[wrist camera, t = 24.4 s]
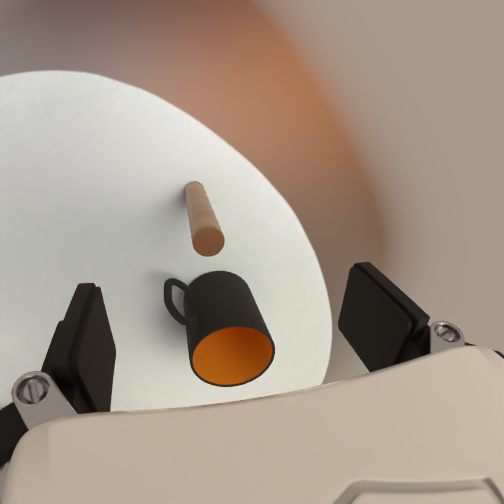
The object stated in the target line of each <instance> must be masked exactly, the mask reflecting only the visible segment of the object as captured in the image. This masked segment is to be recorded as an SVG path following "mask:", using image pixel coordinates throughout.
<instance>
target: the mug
mask: <svg viewBox="0 0 504 504" xmlns="http://www.w3.org/2000/svg"><path fill="white" fill-rule="evenodd" d="M173 285H174V286H177V287H179V288H180V289H182V290H183V291H184V292H185V296H184V314H185V317H184V316H183V315H181V314H180V313H179V312H178V310H177V309H176V307H175V306H174V304H173V301H172V286H173ZM164 302H165V305H166V307H167V309H168V311H169V313H170V314H171V315H172V317H173V318H174V319H175V320H177V321H178V322H179V323H181V324H182V325H185V326H186V334H187V343H188V351H189V359H190V365H191V368H192V370H193V372H194V374H195V375H196V376H197V377H198V378H199V379H201V380H202V381H204V382H206V383H208V384H211V385H214V386H219V387H233V386H239V385H243V384H246V383H248V382H251V381H253V380H254V379H256V378H258V377H259V376H261V375H262V374H263V373H264V372H265V371H266V370H267V369H268V368H269V366H270V365H271V363H272V361H273V359H274V355H275V346H274V342H273V340H272V338H271V335H270V333H269V331H268V329H267V327H266V324H265V322H264V320H263V318H262V315H261V313H260V311H259V309H258V306H257V304H256V302H255V300H254V298H253V295H252V293H251V291H250V289H249V287H248V285H247V283H246V282H245V281H244V280H243V279H242V278H241V277H239V276H237V275H236V274H233V273H231V272H226V271H214V272H209V273H206V274H204V275H202V276H200V277H198V278H197V279H195V280H194V281H193V282H192V283H191V284H190V286H189V287H188V286H187V285H186V284H184V283H183V282H181V281H180V280H177V279H175V278H170V279H168V280H166V282H165V284H164Z"/></svg>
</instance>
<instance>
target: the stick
mask: <svg viewBox="0 0 504 504" xmlns="http://www.w3.org/2000/svg"><path fill="white" fill-rule="evenodd" d="M185 197H186V204H187V211H188V218H189V224H190V231H191V237H192V243H193V247H194V249H195V251H196V252H197V253H198V254H200V255H202V256H207V257H208V256H214V255H216V254H218V253H219V252H220V251H221V250H222V248H223V246H224V241H225V240H224V236H223V233H222V231H221V228H220V226H219V224H218V221H217V219H216V216H215V214H214V212H213V209H212V207H211V204H210V202H209V199H208V197H207V195H206V192H205V190H204V187H203V185H202V184H201V183H199V182H196V181H193V182H190V183H189V184H187V186H186V187H185Z"/></svg>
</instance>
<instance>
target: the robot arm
mask: <svg viewBox="0 0 504 504" xmlns="http://www.w3.org/2000/svg"><path fill="white" fill-rule="evenodd" d="M429 319H430V317H429V316H428V315H427V314H426V313H425V312H424V311H423V310H422V309H421V308H420V307H419V306H418V305H416V303H414V302H413V301H412V300H411V299H410V298H409V297H408V296H407V295H405V293H404V292H402V291H401V290H400V289H399V288H398V287H397V286H396V285H395V284H394V283H392V282H391V281H390V280H389V279H388V278H387V277H386V276H384V274H382V273H381V272H380V271H379V270H378V269H377V268H376V267H374V266H373V265H372V264H371V263H370V262H362V263H356V264H354V266H353V267H352V268H351V269H350V272H349V276H348V281H347V286H346V290H345V295H344V299H343V304H342V308H341V312H340V316H339V320H338V327H339V330H340V331H341V332H342V334H343V335H344V337H345V338H346V339H347V341H348V342H349V344H350V345H351V346H352V348H353V349H354V351H355V352H356V353H357V355H358V356H359V358H360V359H361V360H362V362H363V363H364V364H365V366H366V367H367V369H368V370H369V372H370V373H367V374H363V375H360V376H356V377H352V378H348V379H344V380H340V381H336V382H332V383H329V384H324V385H320V386H315V387H311V388H306V389H302V390H297V391H292V392H287V393H282V394H276V395H271V396H265V397H259V398H253V399H246V400H240V401H233V402H226V403H218V404H210V405H201V406H191V407H179V408H167V409H153V410H135V411H116V412H110V406H111V394H112V384H113V375H114V366H115V358H116V348H115V343H114V340H113V336H112V332H111V329H110V325H109V321H108V317H107V313H106V309H105V305H104V301H103V296H102V292H101V288H100V287H96V286H95V284H94V283H81V284H78V286H77V288H76V290H75V293H74V295H73V298H72V300H71V302H70V305H69V307H68V310H67V312H66V315H65V318H64V320H63V321H60V322H59V323H58V325H57V327H56V330H55V333H54V335H53V338H52V341H51V343H50V346H49V349H48V352H47V354H46V357H45V360H44V363H43V366H42V369H41V372H39V371H34V372H29V373H26V374H24V375H22V376H21V377H20V378H18V380H17V381H16V382H15V383H14V385H13V388H12V398H13V401H14V402H12V403H11V404H9V405H8V406H6V407H5V408H3V409H2V410H0V504H504V355H503V354H502V353H500V352H498V351H493V350H491V349H489V348H486V347H481V346H476V345H473V344H469V343H466V342H465V341H464V335H463V333H462V331H461V330H460V329H459V328H458V327H457V326H455V325H454V324H451V323H449V322H446V321H436V322H433V323H432V324H431V326H430V327H429V326H428V325H427V323H428V321H429Z"/></svg>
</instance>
